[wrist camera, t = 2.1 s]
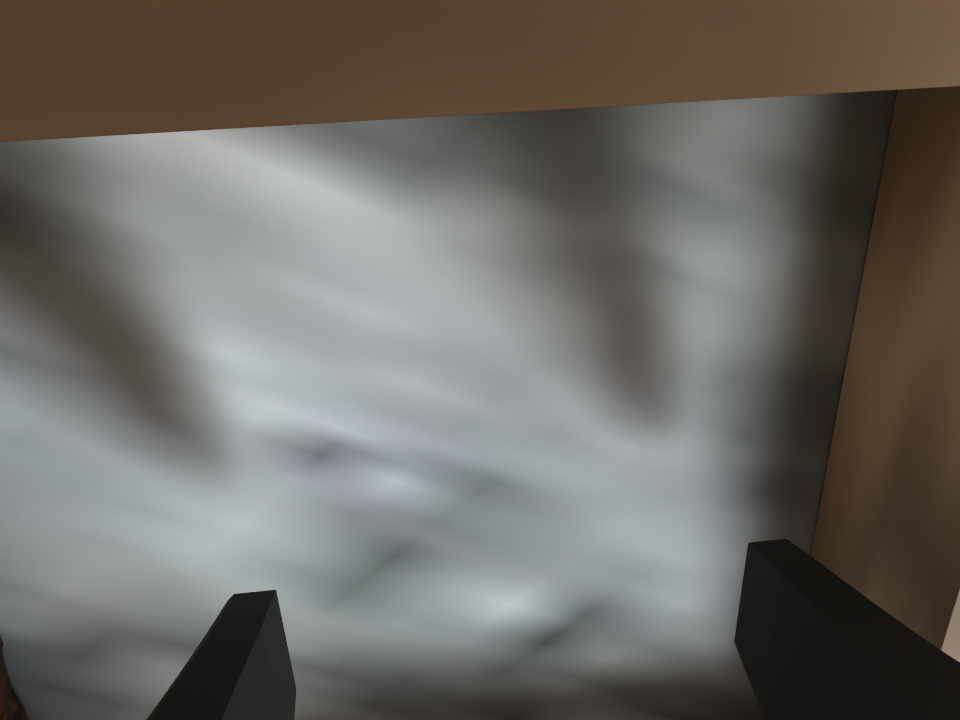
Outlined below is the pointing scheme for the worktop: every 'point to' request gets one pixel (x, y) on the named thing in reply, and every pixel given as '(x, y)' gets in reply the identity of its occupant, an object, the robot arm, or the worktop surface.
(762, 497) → the worktop surface
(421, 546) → the worktop surface
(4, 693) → the brick
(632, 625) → the worktop surface
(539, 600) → the worktop surface
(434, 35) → the wooden frame
